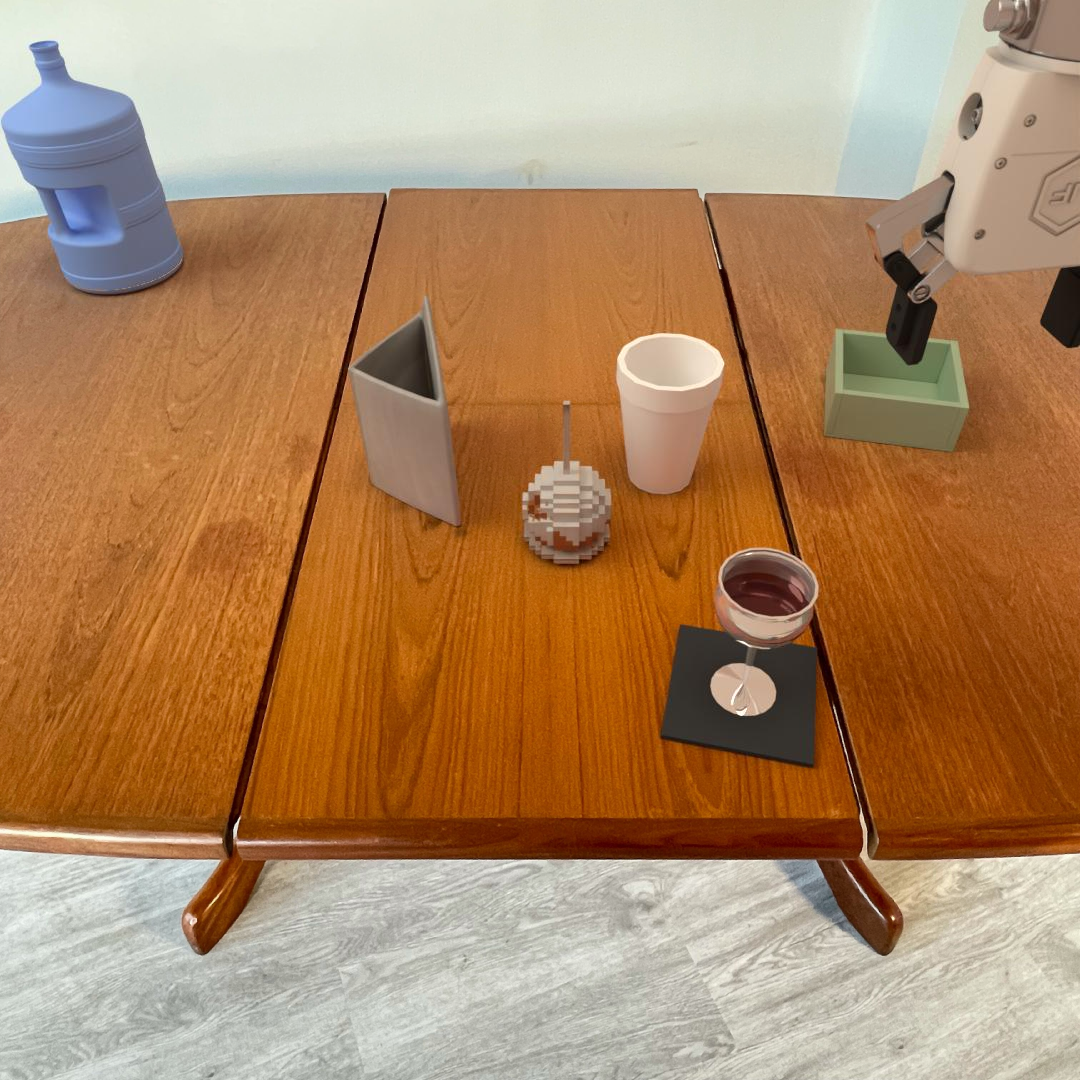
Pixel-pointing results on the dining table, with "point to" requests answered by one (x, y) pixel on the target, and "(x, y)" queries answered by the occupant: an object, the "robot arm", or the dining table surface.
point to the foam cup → (666, 406)
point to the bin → (894, 392)
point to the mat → (710, 725)
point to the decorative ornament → (567, 508)
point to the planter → (408, 418)
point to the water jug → (93, 180)
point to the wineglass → (759, 620)
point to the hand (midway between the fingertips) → (980, 344)
